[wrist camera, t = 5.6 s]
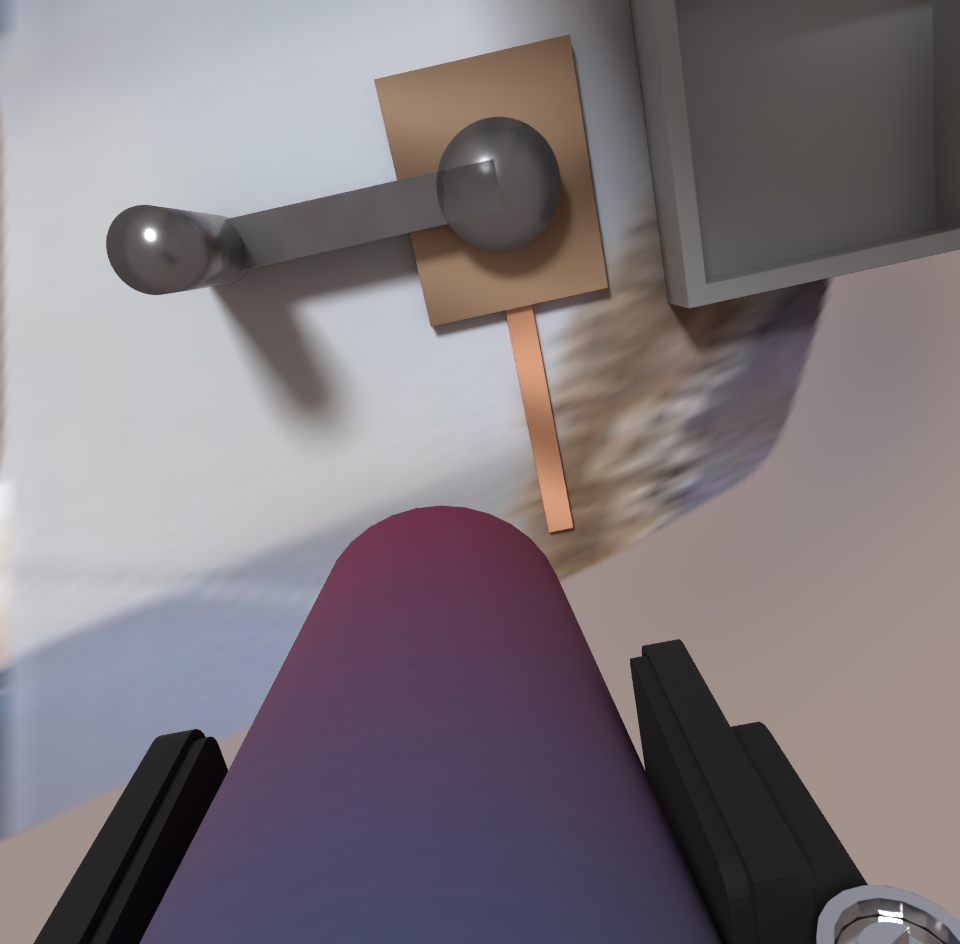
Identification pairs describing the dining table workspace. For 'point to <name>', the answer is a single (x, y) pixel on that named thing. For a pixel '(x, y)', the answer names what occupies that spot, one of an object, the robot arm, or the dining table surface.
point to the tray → (798, 138)
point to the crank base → (526, 269)
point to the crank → (352, 215)
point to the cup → (436, 769)
